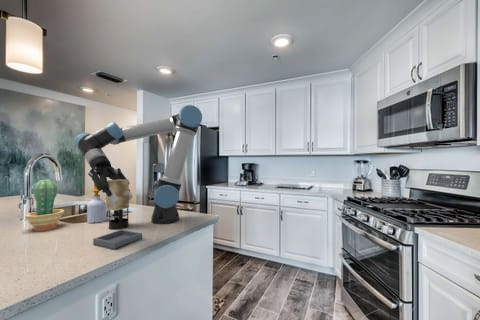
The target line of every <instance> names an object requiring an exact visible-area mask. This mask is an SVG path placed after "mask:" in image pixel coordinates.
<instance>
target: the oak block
mask: <svg viewBox="0 0 480 320" xmlns="http://www.w3.org/2000/svg"><path fill="white" fill-rule="evenodd" d="M107 182H108V186H109V187H111V188H112V189H113V191H114V192H115V194H116V196H117V197H118V201H117V202H116V203H115V204H114V203H113V202H112V200H111V198H110V197H108V196H107V194H106V193H105V198H106V201H105V202H106V210H108V211H109V210H110V211H114V210H121V209H123V210H124V209H127V208H128V209H130V201H129V190H130V184H129V183H130V179H127V180H121V179H118V180H112V179H110V180H108V179H107ZM109 187H108V188H109Z"/></svg>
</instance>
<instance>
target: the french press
mask: <svg viewBox="0 0 480 320" xmlns="http://www.w3.org/2000/svg"><path fill="white" fill-rule="evenodd" d="M123 211H124V209H121V210H113V213H112V214H111V210H108V227H107V228H108V230H112V231H113V230H114V231H115V230H116V231H118V230H124V229H125V228H129V225H130V224H129V208H126V212H123ZM111 218H112V219H111Z"/></svg>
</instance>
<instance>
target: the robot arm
mask: <svg viewBox="0 0 480 320" xmlns="http://www.w3.org/2000/svg"><path fill="white" fill-rule="evenodd" d="M202 122H203V114H202V111H201V110H200V108H198V107H197V106H195V105H193V104H188V105H184V106H183V107H181V109H179V112H178V113H177V114H174V115H171V116H169V118H164V119H160V120H153V121H150V122H149V121H147V122H143V123H139V124H136V125H129V126H125V127H120V126H119V125H118V124H117V123H116V122H111V123H109V124H106V126H104V127H102V128H100V129H99V130H97V131H95V132H93V133H90V132H83V133H79V134H78V135H77V136H76V137H75V140H74V141H75V143H76V144H75V145H77V149H78V150H79V151H80V152H81V154H82V155H83V157H84V159H85V160H86V162H87V164H88V165H89V167H90V170H89V171H88V173H87V174H88V176H89V177H90V178H91V181H92V182H93V184H94V183H95V185H96V187H97V189H98V191H99V192H102V193H103V194H105V195H106V194H107V196H108V197H110V198H111V200H112V202H113V203H114V204H115V203H116V202H117V201H118V197H117V196H116V194H115V192H114V191H113V189H112V188H111V187H109V186H108V182H107V181H108V179H110V180H118V179H121V180H128V179H127V177H126V176H125V174H124V173H123V172H122V170H121V168H117V169H116V168H114V167H113V166H112V163H111V160H109V158H108V157H107V155H106V153H105V152H104V151H103V148H104V147H106V146H108V145H113V146H115V145H119V144H121V143H126V142H129V141H135V140H139V139H144V138H148V137H152V136H153V137H154V136H157V135H162V134H166V133H167V134H168V133H170V132H171V133H172V132H173V133H175V136H174V138H173V142H172V145H171V149H170V152H169V154H168V155H169V156H168V159H167V162H166V166H165V169H164V171H163V175H162V176H161V177H158V180H155V181H154V183H153V188H154V189H153V191H154V194H153V200H154V203H153V204H154V209H153V211H152V214H151V219H150V220H151V221H150V222H151V223H153V224H156V225H164V224H165V225H166V224H171V223H176V222H177V221H180V215H179V211H178V209H177V203H178V201H179V199H180V191H181V188H182V185H183V184H182V181H181V176H182V173H183V170H184V167H185V164H186V160H187V156H188V154H189V150H190V147H191V143H192V140H193V137H194V136H196V135H197V134H198V130H199V127H200V124H201V123H202ZM130 184H131V182H129V185H130ZM108 187H109V188H108ZM133 197H134V196H133V194H132V192H131V190H130V189H129V202H130V201H131V200H132V199H133Z"/></svg>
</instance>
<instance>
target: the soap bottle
mask: <svg viewBox="0 0 480 320" xmlns="http://www.w3.org/2000/svg"><path fill="white" fill-rule="evenodd" d="M91 192H93V193H94V194H93V196H92V199H91V200H90V201H89V202H88V203H87V205H86V206H87V208H86V211H87V213H86V216H87V217H86V218H87V221H86V222H87V223H88V224H99V223H102V221H103V222H104V221H107V209H106V201H105V200H104V199H101V195H100V194H99V193H100V191H98V189H97V187H96V185H95V183H94V182H93V189H92V190H91ZM94 222H95V223H94ZM98 222H99V223H98Z"/></svg>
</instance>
